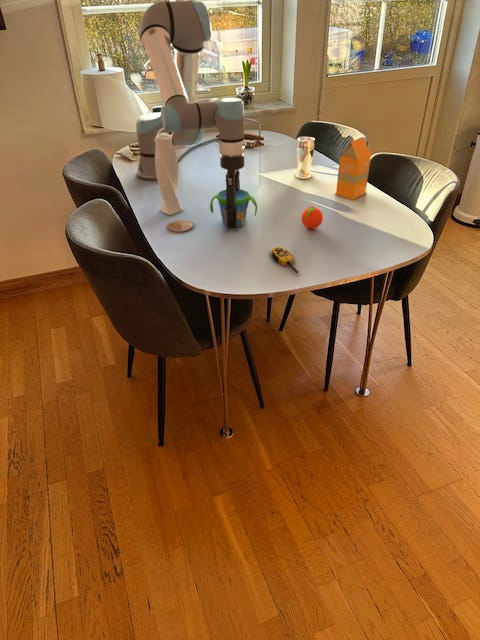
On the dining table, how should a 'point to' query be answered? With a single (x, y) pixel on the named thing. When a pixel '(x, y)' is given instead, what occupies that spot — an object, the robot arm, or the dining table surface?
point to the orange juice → (353, 170)
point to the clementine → (312, 217)
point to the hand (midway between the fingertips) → (234, 221)
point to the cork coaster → (180, 226)
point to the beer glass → (304, 156)
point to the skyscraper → (167, 172)
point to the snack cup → (240, 206)
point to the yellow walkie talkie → (283, 257)
